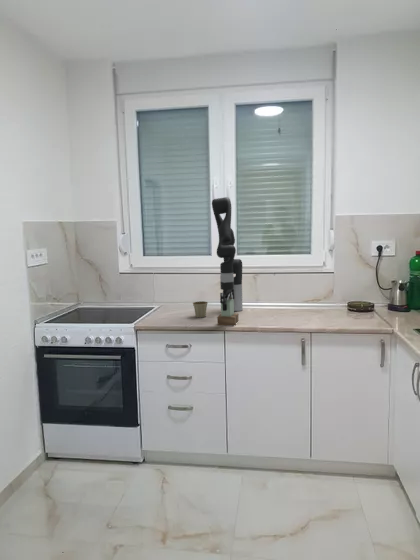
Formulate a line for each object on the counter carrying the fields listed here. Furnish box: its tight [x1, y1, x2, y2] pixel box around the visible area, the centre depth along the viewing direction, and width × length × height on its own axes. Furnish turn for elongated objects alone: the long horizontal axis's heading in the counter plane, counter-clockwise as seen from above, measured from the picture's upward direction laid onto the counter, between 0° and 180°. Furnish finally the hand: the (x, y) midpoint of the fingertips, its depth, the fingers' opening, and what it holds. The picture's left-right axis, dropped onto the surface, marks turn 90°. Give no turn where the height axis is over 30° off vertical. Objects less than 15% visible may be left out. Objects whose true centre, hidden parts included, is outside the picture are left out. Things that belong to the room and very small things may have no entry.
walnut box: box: [217, 312, 239, 326], centre depth 237 cm, size 10×10×5 cm
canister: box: [220, 299, 235, 317], centre depth 236 cm, size 6×6×9 cm
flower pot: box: [192, 300, 209, 318], centre depth 256 cm, size 9×9×9 cm
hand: (227, 309), depth 237 cm, fingers open, 8 cm apart
